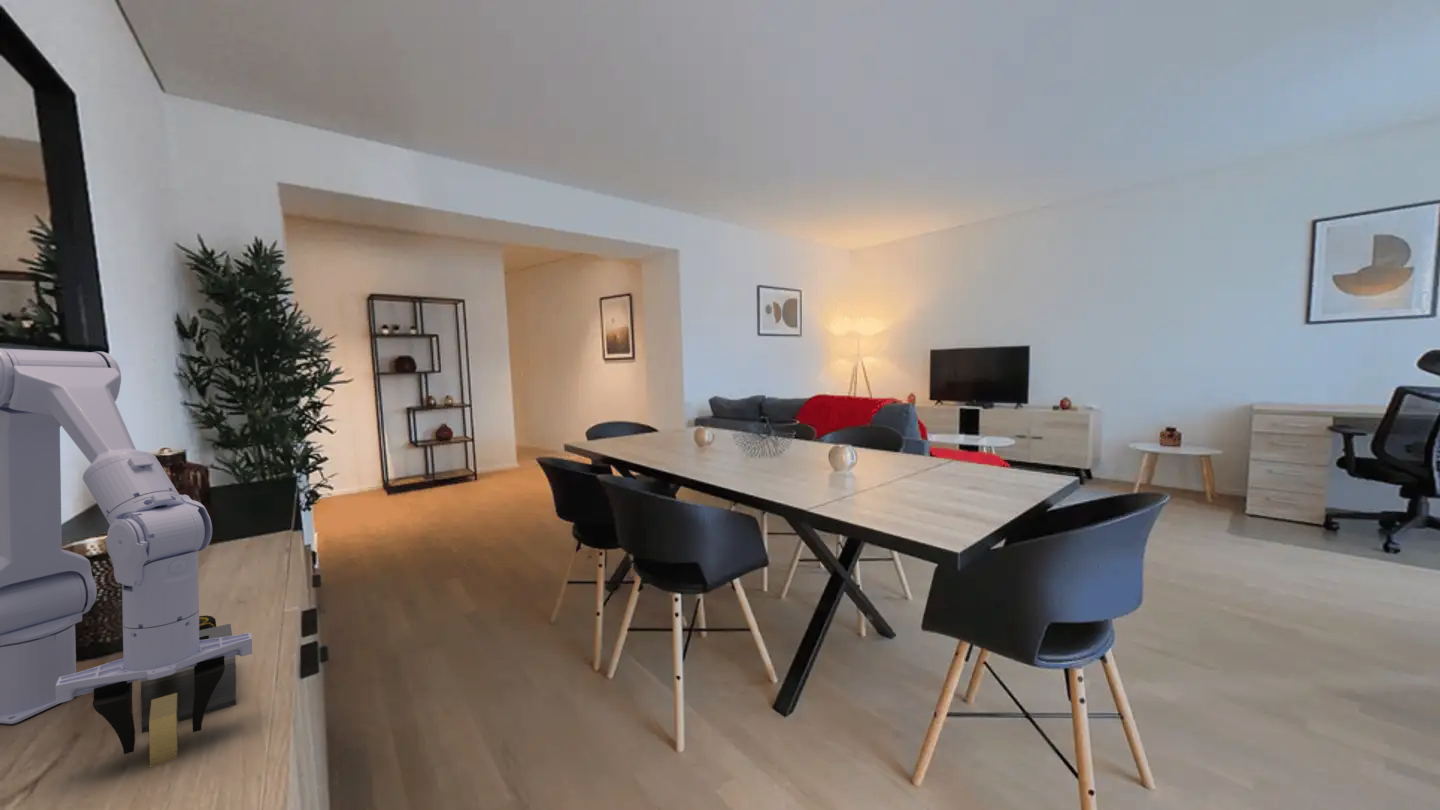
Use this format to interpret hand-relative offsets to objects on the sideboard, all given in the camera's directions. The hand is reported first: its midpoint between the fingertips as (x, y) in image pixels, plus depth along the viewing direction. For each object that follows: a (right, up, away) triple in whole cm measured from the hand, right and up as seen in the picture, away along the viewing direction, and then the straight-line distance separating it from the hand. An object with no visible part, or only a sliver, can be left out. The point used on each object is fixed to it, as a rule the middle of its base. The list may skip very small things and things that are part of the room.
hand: (164, 737), depth 58 cm
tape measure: (-20, 0, +21) cm, 29 cm away
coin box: (-7, -1, +10) cm, 12 cm away
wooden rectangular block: (0, -2, 0) cm, 2 cm away
